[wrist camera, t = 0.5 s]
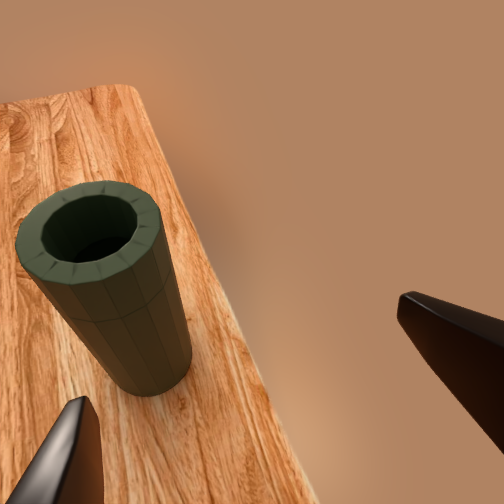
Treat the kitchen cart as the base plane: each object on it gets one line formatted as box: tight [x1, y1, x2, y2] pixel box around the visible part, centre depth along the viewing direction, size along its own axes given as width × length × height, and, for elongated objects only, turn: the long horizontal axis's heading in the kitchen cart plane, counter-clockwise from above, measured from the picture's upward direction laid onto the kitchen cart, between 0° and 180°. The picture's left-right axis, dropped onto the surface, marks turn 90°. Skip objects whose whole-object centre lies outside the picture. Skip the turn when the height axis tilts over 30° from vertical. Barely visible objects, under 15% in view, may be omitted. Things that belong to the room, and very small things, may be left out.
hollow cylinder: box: [15, 180, 192, 396], centre depth 21 cm, size 6×6×14 cm
